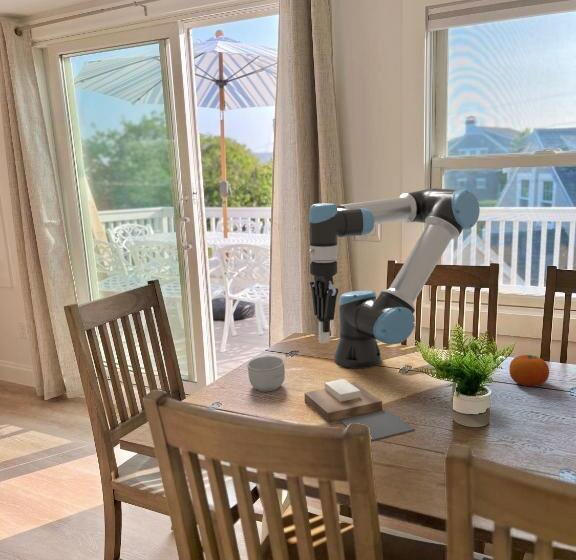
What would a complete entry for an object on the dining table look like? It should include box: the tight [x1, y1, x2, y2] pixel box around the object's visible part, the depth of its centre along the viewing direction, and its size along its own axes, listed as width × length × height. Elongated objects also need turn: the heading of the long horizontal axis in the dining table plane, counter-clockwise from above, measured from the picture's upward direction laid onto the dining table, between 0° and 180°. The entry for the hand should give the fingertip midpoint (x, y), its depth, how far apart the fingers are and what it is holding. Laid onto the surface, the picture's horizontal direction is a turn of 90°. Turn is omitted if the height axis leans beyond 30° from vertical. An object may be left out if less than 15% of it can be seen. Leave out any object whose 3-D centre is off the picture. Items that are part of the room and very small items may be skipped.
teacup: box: [246, 354, 286, 393], centre depth 164 cm, size 14×11×8 cm
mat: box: [339, 409, 416, 442], centre depth 138 cm, size 14×12×1 cm
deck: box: [303, 382, 383, 423], centre depth 150 cm, size 16×14×2 cm
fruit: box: [508, 354, 550, 387], centre depth 160 cm, size 11×10×8 cm
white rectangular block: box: [324, 378, 360, 402], centre depth 151 cm, size 6×9×2 cm, turn 23°
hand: (324, 342), depth 158 cm, fingers closed
